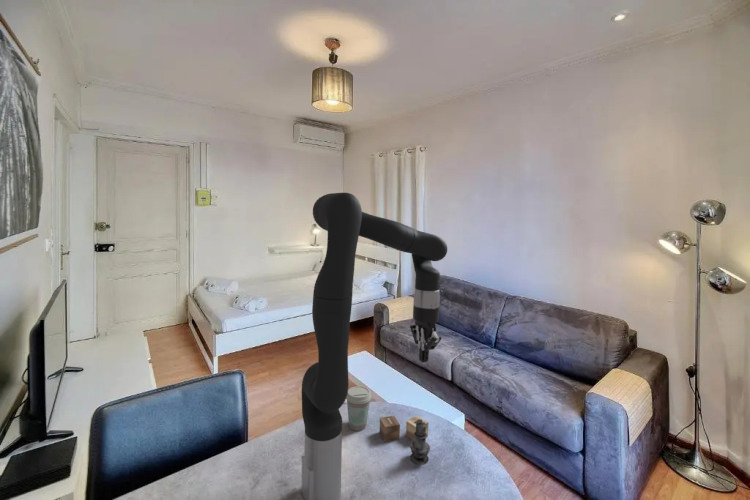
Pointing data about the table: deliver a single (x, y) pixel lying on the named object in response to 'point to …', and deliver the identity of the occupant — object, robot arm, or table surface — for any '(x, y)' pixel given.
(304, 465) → the robot arm
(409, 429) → the beech block digit
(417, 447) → the black chess piece
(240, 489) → the table surface
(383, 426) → the walnut block digit
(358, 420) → the coffee cup
